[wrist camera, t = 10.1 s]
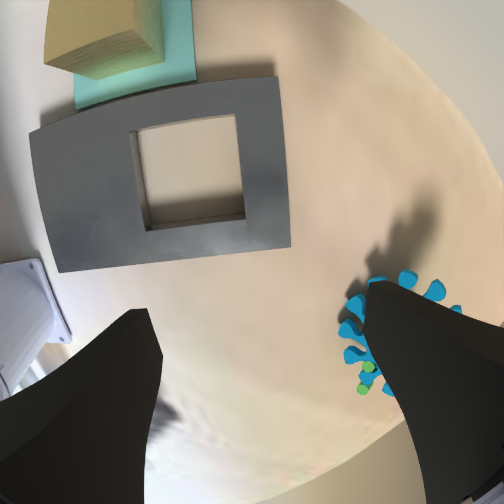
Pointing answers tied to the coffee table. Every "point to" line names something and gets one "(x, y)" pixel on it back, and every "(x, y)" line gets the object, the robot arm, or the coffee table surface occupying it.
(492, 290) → the coffee table surface
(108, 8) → the brass block
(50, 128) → the rail plate
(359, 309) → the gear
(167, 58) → the teal mat
